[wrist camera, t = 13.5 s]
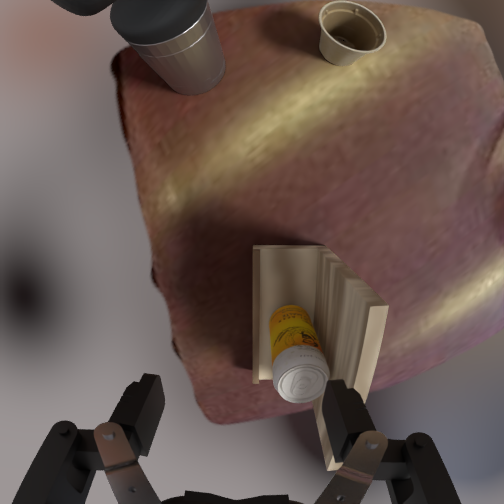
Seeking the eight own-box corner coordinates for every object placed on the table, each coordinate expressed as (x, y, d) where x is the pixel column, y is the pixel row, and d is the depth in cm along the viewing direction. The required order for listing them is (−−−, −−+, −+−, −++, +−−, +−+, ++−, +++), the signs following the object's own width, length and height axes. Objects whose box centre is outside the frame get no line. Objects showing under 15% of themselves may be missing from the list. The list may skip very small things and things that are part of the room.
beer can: (315, 308, 40) (341, 367, 26) (300, 342, 42) (317, 408, 27) (276, 297, 40) (285, 356, 25) (263, 333, 41) (265, 400, 27)
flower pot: (304, 25, 33) (313, -4, 24) (360, 31, 32) (378, 6, 24) (312, 73, 35) (324, 48, 26) (370, 77, 35) (392, 57, 26)
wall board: (253, 370, 46) (249, 475, 24) (253, 245, 41) (248, 309, 20) (313, 369, 46) (340, 469, 24) (325, 245, 41) (388, 305, 19)
